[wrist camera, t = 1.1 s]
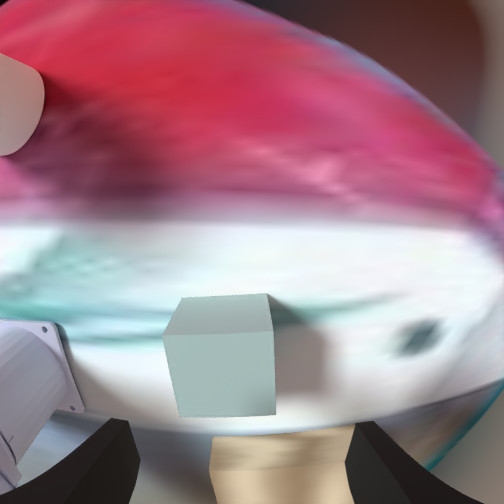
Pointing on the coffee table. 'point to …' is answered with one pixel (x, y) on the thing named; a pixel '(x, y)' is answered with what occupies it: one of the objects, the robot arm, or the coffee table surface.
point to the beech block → (282, 468)
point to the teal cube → (222, 356)
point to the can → (18, 103)
